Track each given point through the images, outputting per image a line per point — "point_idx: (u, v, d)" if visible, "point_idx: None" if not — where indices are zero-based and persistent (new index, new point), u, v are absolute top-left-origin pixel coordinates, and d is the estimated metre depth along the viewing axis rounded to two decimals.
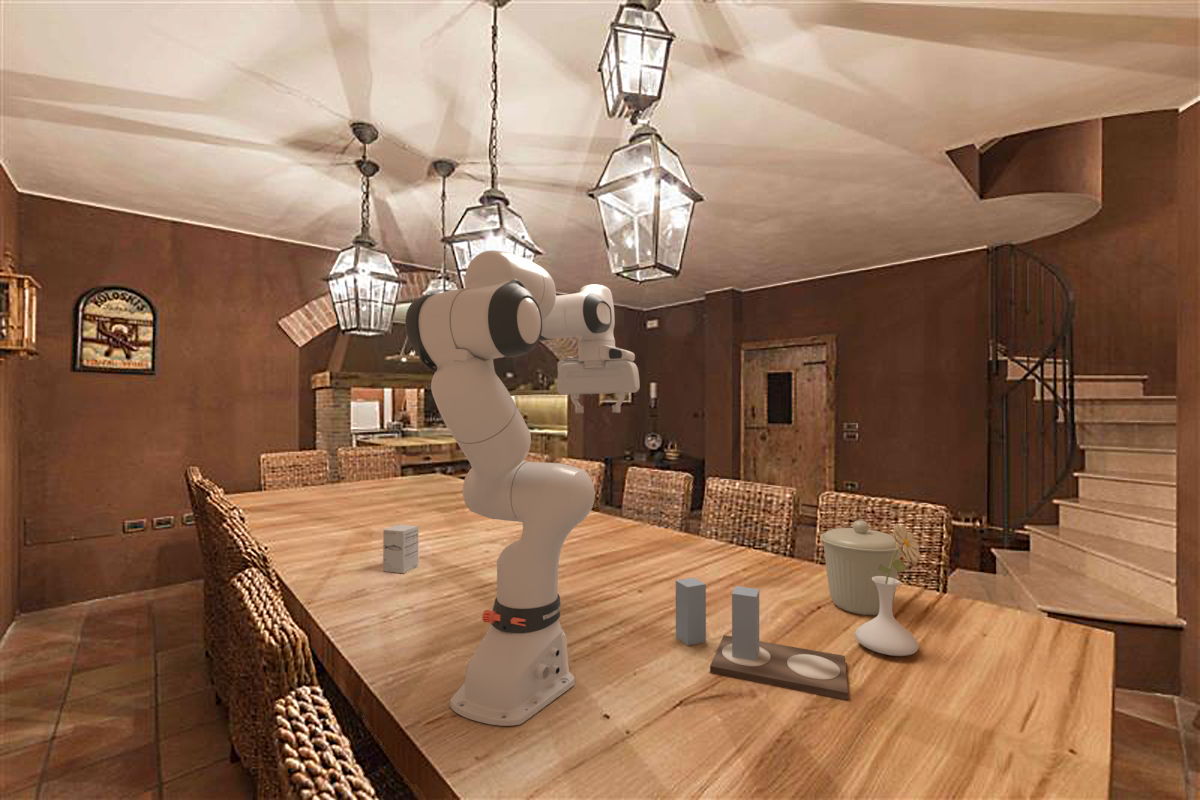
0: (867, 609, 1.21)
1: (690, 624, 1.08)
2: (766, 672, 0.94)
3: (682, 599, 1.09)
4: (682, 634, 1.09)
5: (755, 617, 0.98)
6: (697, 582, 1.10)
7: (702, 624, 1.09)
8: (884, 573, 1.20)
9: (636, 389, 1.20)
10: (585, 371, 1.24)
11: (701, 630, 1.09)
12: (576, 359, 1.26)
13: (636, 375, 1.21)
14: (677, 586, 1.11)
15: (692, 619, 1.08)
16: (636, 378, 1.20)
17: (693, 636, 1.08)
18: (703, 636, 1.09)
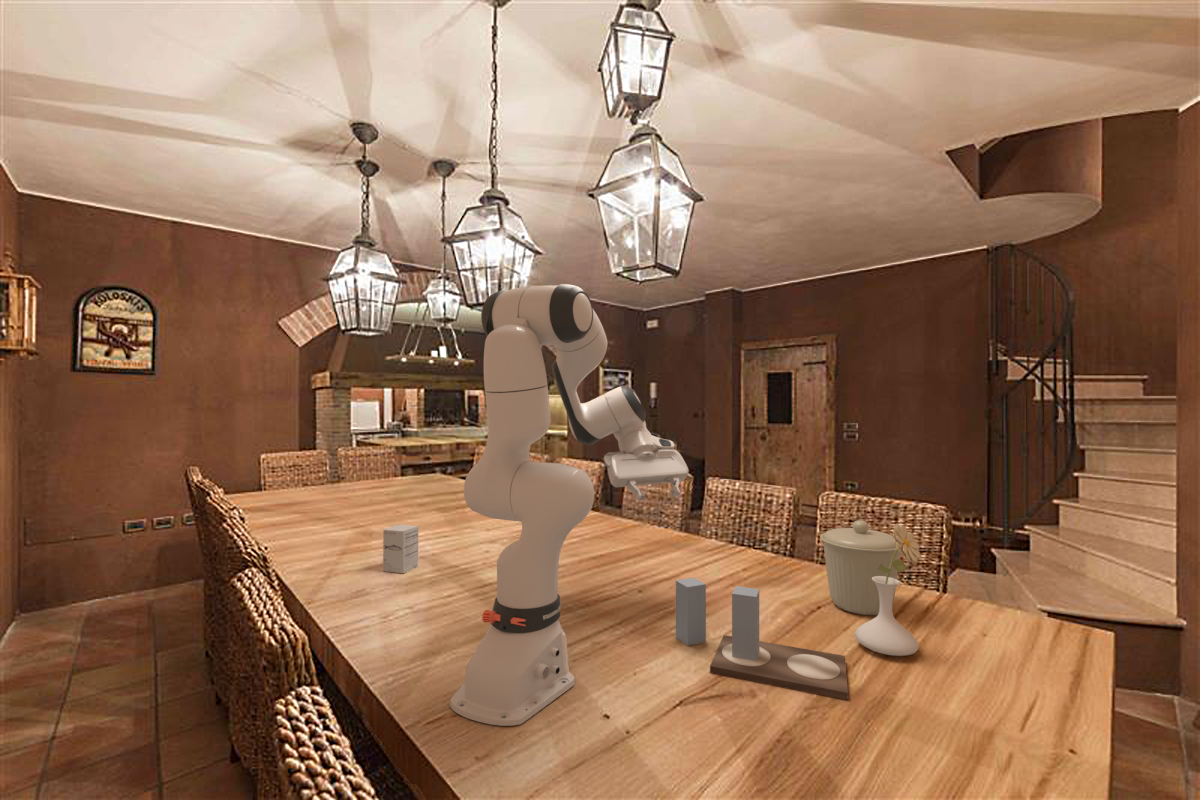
0: (867, 609, 1.21)
1: (690, 624, 1.08)
2: (766, 672, 0.94)
3: (682, 599, 1.09)
4: (682, 634, 1.09)
5: (755, 617, 0.98)
6: (697, 582, 1.10)
7: (702, 624, 1.09)
8: (884, 573, 1.20)
9: None
10: (638, 460, 1.26)
11: (701, 630, 1.09)
12: (622, 453, 1.28)
13: None
14: (677, 586, 1.11)
15: (692, 619, 1.08)
16: None
17: (693, 636, 1.08)
18: (703, 636, 1.09)
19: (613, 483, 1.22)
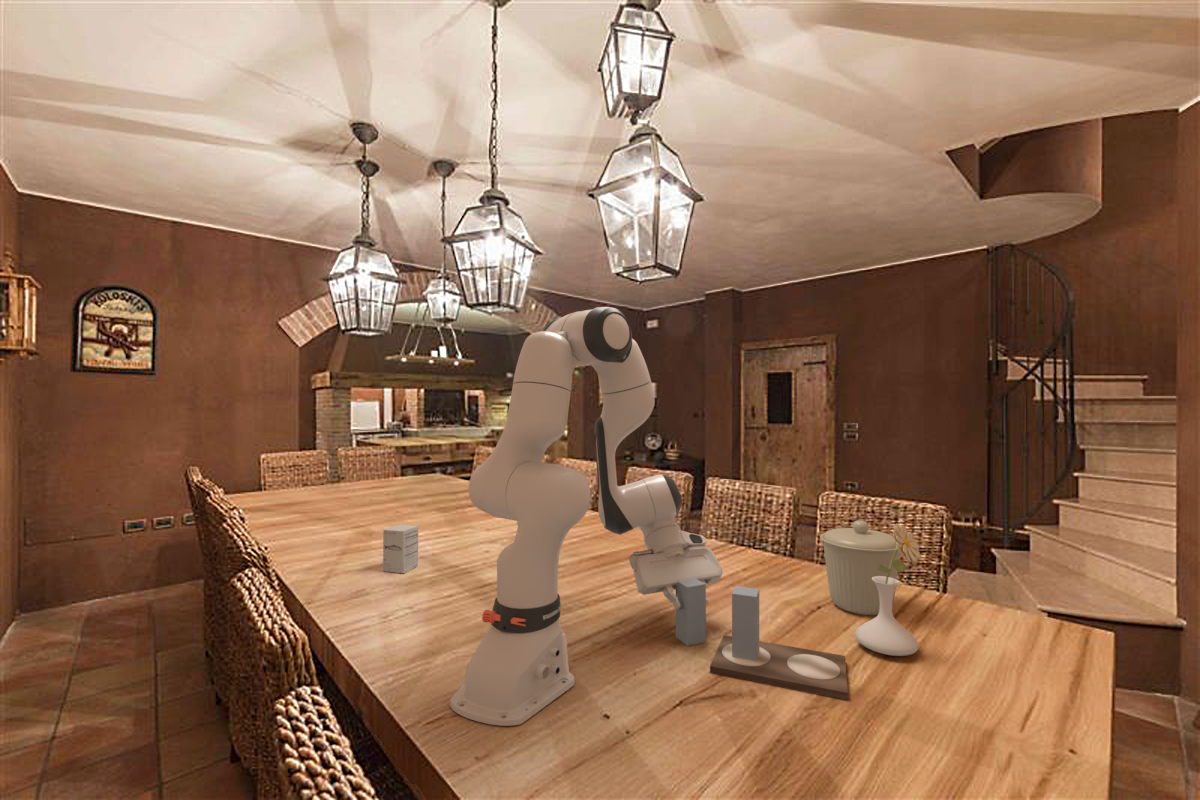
0: (867, 609, 1.21)
1: (690, 624, 1.08)
2: (766, 672, 0.94)
3: (682, 599, 1.09)
4: (682, 634, 1.09)
5: (755, 617, 0.98)
6: (697, 582, 1.10)
7: (702, 624, 1.09)
8: (884, 573, 1.20)
9: None
10: (667, 561, 1.14)
11: (701, 630, 1.09)
12: (649, 552, 1.16)
13: None
14: (677, 586, 1.11)
15: (692, 618, 1.08)
16: None
17: (693, 636, 1.08)
18: (703, 636, 1.09)
19: (641, 591, 1.09)
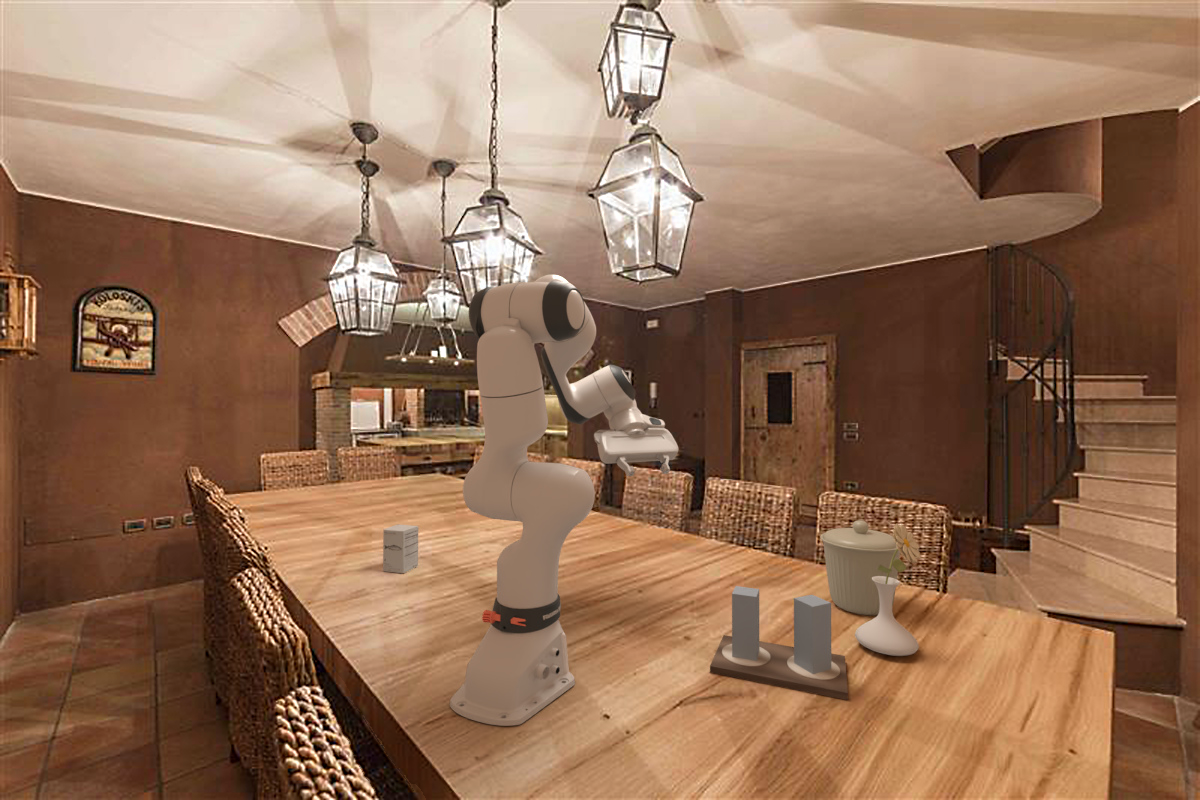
0: (867, 609, 1.21)
1: (816, 649, 0.94)
2: (766, 672, 0.94)
3: (804, 619, 0.95)
4: (804, 660, 0.95)
5: (755, 617, 0.98)
6: (820, 600, 0.96)
7: (827, 649, 0.95)
8: (884, 573, 1.20)
9: None
10: (628, 437, 1.26)
11: (827, 655, 0.95)
12: (612, 431, 1.28)
13: None
14: (796, 605, 0.97)
15: (817, 643, 0.94)
16: None
17: (819, 663, 0.94)
18: (829, 663, 0.95)
19: (603, 459, 1.22)
